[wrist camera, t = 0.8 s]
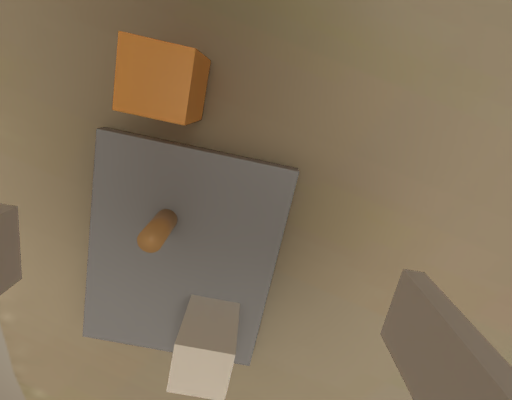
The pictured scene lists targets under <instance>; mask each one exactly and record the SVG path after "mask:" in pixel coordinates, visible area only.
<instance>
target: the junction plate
mask: <svg viewBox="0 0 512 400" xmlns="http://www.w3.org/2000/svg"><path fill="white" fill-rule="evenodd" d="M298 175H299V170H298V168H294V167H289V166H284V165H280V164H275V163H270V162H266V161H261V160H256V159H252V158H247V157H242V156H237V155H233V154H228V153H223V152H219V151H214V150H209V149H205V148H200V147H195V146H191V145H186V144H181V143H176V142H172V141H167V140H162V139H158V138H153V137H148V136H144V135H139V134H134V133H129V132H125V131H120V130H115V129H111V128H106V127H103V128H97V130H96V145H95V160H94V175H93V190H92V205H91V219H90V234H89V249H88V264H87V279H86V294H85V309H84V324H83V336H84V337H90V338H96V339H101V340H107V341H112V342H118V343H124V344H129V345H135V346H140V347H146V348H152V349H157V350H163V351H169V352H173V355H172V361H171V367H170V373H169V379H168V385H167V391H166V392H171V393H177V394H183V395H189V396H195V397H200V398H206V399H212V400H225V397H226V393H227V389H228V384H229V380H230V376H231V372H232V368H233V364H234V363H236V364H242V365H247V366H249V365H250V362H251V358H252V354H253V350H254V346H255V342H256V338H257V334H258V330H259V327H260V323H261V319H262V315H263V311H264V307H265V303H266V299H267V295H268V292H269V288H270V284H271V280H272V276H273V272H274V268H275V264H276V260H277V257H278V253H279V249H280V245H281V241H282V237H283V233H284V229H285V225H286V222H287V218H288V214H289V210H290V206H291V202H292V198H293V194H294V190H295V187H296V183H297V179H298Z"/></svg>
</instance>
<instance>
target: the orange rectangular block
mask: <svg viewBox="0 0 512 400" xmlns="http://www.w3.org/2000/svg"><path fill="white" fill-rule="evenodd" d="M210 63H211V60H209V59H208V58H207V57H206V56H204V55H203V54H202V53H201V52H200V51H198V50H197V49H196V48H192V47H187V46H183V45H179V44H174V43H170V42H165V41H161V40H157V39H152V38H148V37H144V36H139V35H135V34H131V33H126V32H122V31H119V32H118V44H117V57H116V70H115V82H114V95H113V107H112V110H115V111H120V112H124V113H129V114H133V115H138V116H143V117H147V118H152V119H157V120H161V121H166V122H170V123H175V124H180V125H184V126H185V125H187V124H190V123H193V122H196V121H199V120H202V113H203V107H204V101H205V94H206V88H207V82H208V76H209V69H210Z"/></svg>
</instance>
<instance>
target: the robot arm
mask: <svg viewBox="0 0 512 400" xmlns="http://www.w3.org/2000/svg"><path fill="white" fill-rule="evenodd" d="M21 279H22V272H21V254H20V237H19V219H18V206H13V205H6V204H0V295H1V294H2V293H4V292H5V291H6V290H8V289H9V288H10V287H12V286H13V285H14V284H15V283H17V282H18V281H19V280H21ZM380 334H381V336H382V338H383V340H384V342H385V344H386V346H387V348H388V350H389V352H390V354H391V356H392V358H393V360H394V362H395V364H396V366H397V368H398V370H399V372H400V374H401V376H402V378H403V380H404V382H405V384H406V386H407V388H408V390H409V392H410V394H411V396H412V398H413V400H512V367H511V366H510V365H509V363H508V362H507V361H506V360H505V359H504V358H503V357H502V356H501V355H500V354H499V353H498V352H497V350H496V349H495V348H494V347H493V346H492V345H491V344H490V343H489V342H488V341H487V340H486V339H485V337H484V336H483V335H482V334H481V333H480V332H479V331H478V330H477V329H476V328H475V327H474V326H473V324H472V323H471V322H470V321H469V320H468V319H467V318H466V317H465V316H464V315H463V314H462V313H461V311H460V310H459V309H458V308H457V307H456V306H455V305H454V304H453V303H452V302H451V301H450V299H449V298H448V297H447V296H446V295H445V294H444V293H443V292H442V291H441V290H440V289H439V288H438V286H437V285H436V284H435V283H434V282H433V281H432V280H431V279H430V278H429V277H428V276H427V275H426V273H425V272H419V271H413V270H407V269H403V271H402V273H401V276H400V279H399V282H398V285H397V288H396V291H395V293H394V296H393V299H392V302H391V305H390V308H389V311H388V313H387V316H386V319H385V322H384V325H383V328H382V331H381V333H380Z"/></svg>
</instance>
